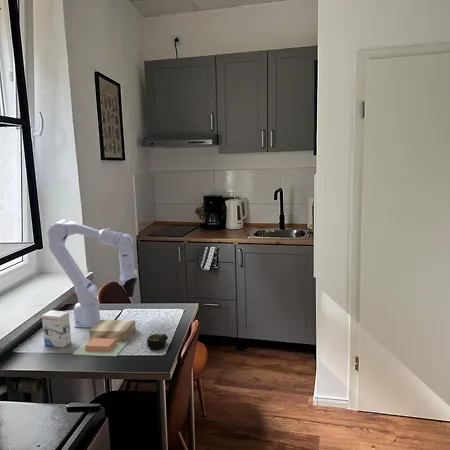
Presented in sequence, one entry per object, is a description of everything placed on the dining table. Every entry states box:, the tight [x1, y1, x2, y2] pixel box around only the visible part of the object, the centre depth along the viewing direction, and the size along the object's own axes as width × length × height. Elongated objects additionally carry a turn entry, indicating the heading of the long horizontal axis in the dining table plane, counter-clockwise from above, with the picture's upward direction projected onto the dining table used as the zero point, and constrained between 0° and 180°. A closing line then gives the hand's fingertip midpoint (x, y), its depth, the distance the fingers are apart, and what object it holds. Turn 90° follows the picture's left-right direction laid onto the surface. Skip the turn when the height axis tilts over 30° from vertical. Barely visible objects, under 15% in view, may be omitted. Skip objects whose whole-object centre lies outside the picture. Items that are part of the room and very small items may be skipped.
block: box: [85, 338, 117, 352], centre depth 147 cm, size 9×6×2 cm, turn 81°
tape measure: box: [146, 333, 169, 350], centre depth 147 cm, size 7×7×4 cm
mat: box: [72, 340, 128, 357], centre depth 147 cm, size 16×10×1 cm, turn 81°
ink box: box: [41, 309, 72, 348], centre depth 152 cm, size 9×5×12 cm, turn 71°
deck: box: [88, 319, 137, 342], centre depth 158 cm, size 14×10×4 cm
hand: (130, 296), depth 169 cm, fingers closed
